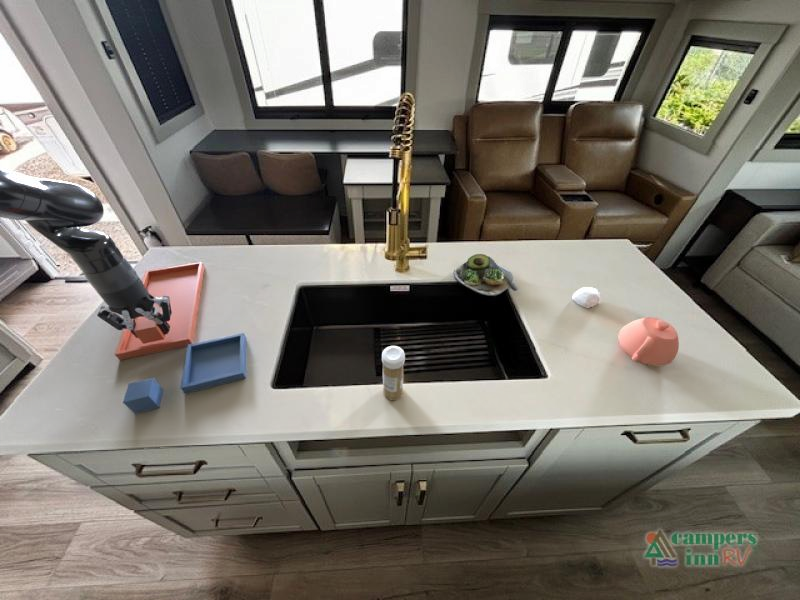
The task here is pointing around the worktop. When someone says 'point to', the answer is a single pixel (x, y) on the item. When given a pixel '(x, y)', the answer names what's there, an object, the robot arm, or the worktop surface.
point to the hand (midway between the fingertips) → (155, 334)
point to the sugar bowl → (649, 341)
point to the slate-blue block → (143, 395)
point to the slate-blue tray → (214, 363)
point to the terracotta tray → (184, 306)
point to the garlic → (587, 297)
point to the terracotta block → (148, 330)
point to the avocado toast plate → (484, 276)
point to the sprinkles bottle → (393, 372)
